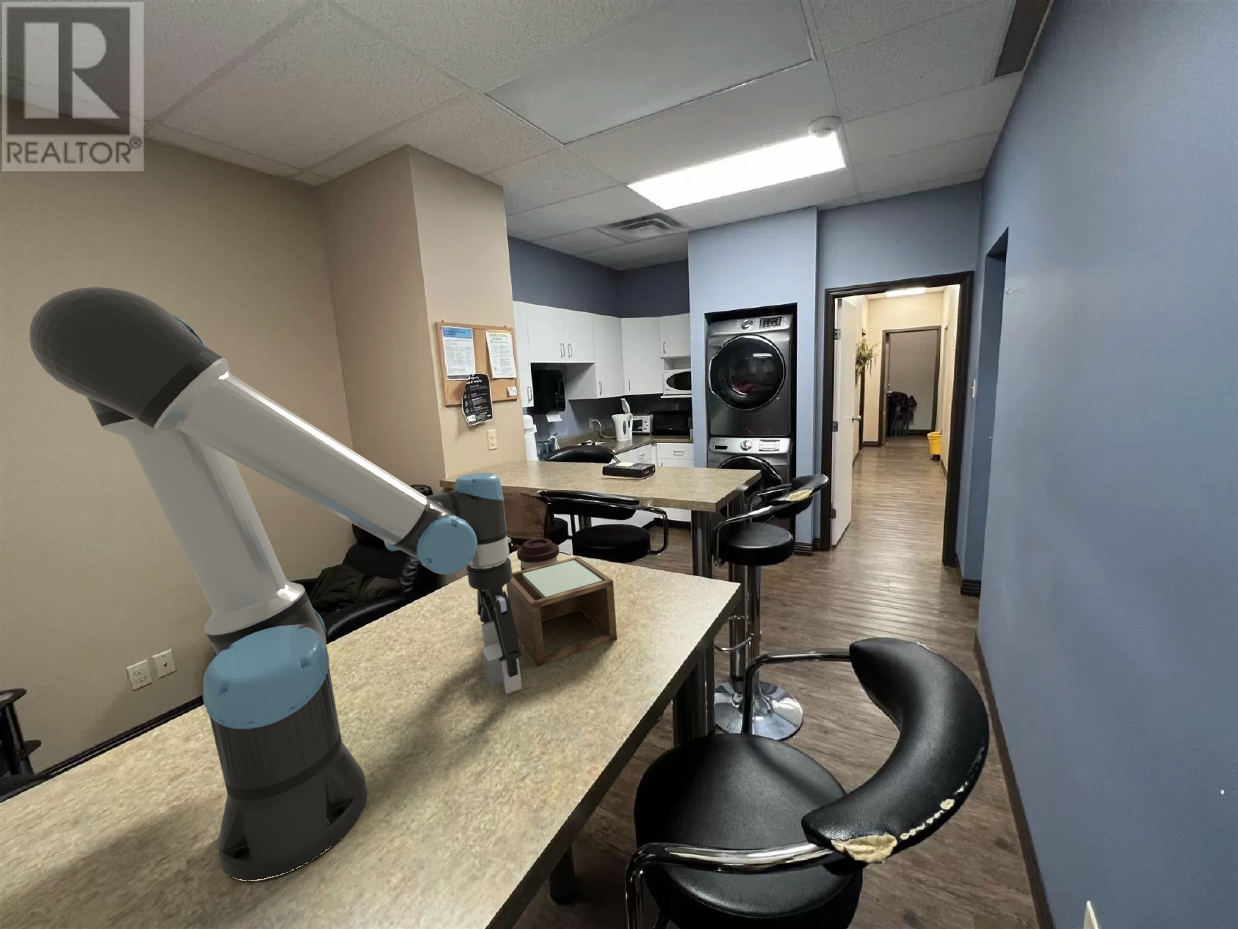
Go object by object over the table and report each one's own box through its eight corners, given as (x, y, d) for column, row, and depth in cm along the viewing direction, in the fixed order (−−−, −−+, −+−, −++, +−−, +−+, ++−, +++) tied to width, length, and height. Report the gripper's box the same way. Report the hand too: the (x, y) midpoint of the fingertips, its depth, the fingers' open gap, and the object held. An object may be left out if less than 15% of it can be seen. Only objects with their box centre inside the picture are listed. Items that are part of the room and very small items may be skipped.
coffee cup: (571, 597, 118) (566, 538, 115) (544, 614, 110) (539, 552, 107) (541, 589, 123) (535, 534, 121) (513, 606, 115) (507, 546, 113)
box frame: (537, 666, 90) (531, 604, 87) (511, 628, 104) (505, 574, 102) (617, 638, 98) (613, 580, 95) (581, 607, 112) (577, 556, 110)
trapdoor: (546, 602, 90) (546, 597, 90) (522, 577, 103) (522, 573, 103) (605, 584, 96) (604, 580, 96) (575, 563, 109) (575, 559, 108)
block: (491, 687, 84) (488, 661, 84) (484, 673, 89) (481, 648, 88) (518, 677, 87) (516, 652, 86) (510, 664, 91) (508, 639, 90)
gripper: (532, 578, 75) (546, 699, 79) (491, 538, 97) (503, 634, 100) (484, 591, 71) (501, 717, 75) (453, 546, 93) (467, 646, 97)
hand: (502, 670), depth 88 cm, fingers open, 13 cm apart
